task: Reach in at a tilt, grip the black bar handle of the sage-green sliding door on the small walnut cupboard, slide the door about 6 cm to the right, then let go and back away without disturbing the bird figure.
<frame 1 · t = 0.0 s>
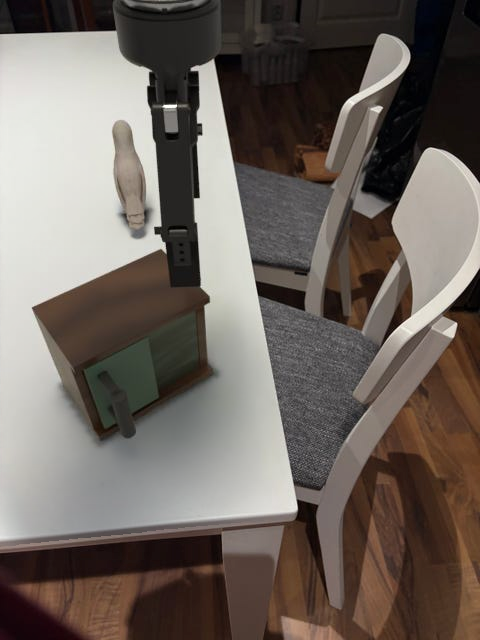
hand: (186, 236, 52), 21 cm above the table, tool pointing down, fingers open, 13 cm apart
cupboard: (139, 379, 66), on the table
bird: (135, 215, 90), on the table
sliding door: (134, 396, 56), point 7 cm above the table, slide at 0.0 cm
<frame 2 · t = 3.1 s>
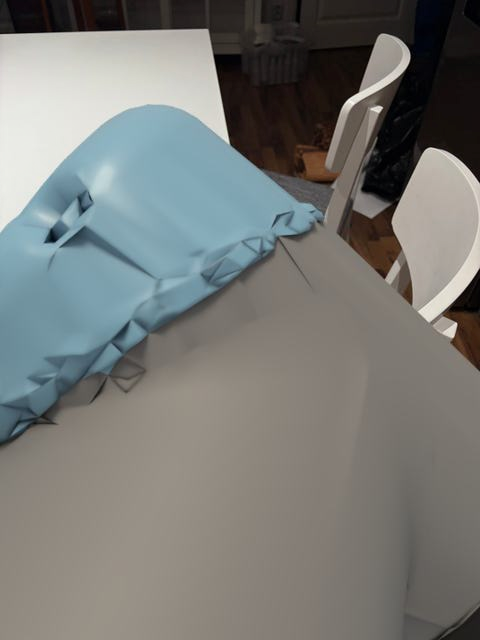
hand: (170, 445, 43), 16 cm above the table, tool tilted 45°, fingers open, 13 cm apart
nothing on the table moved.
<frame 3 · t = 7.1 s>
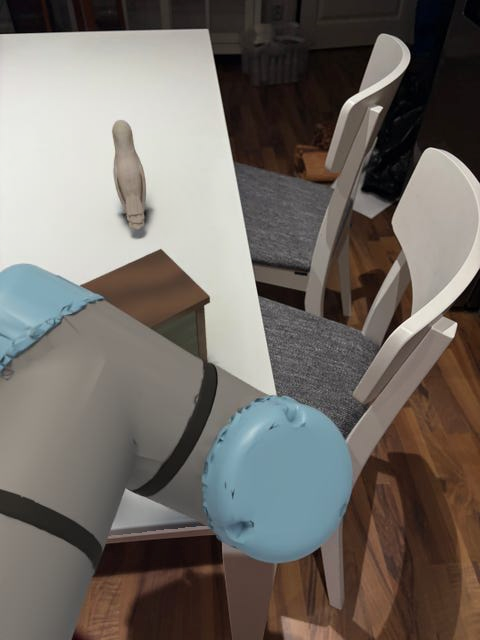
hand: (125, 405, 58), 5 cm above the table, tool tilted 45°, fingers open, 8 cm apart
sliding door: (132, 397, 56), point 7 cm above the table, slide at -0.2 cm, touching gripper
everything else where it was.
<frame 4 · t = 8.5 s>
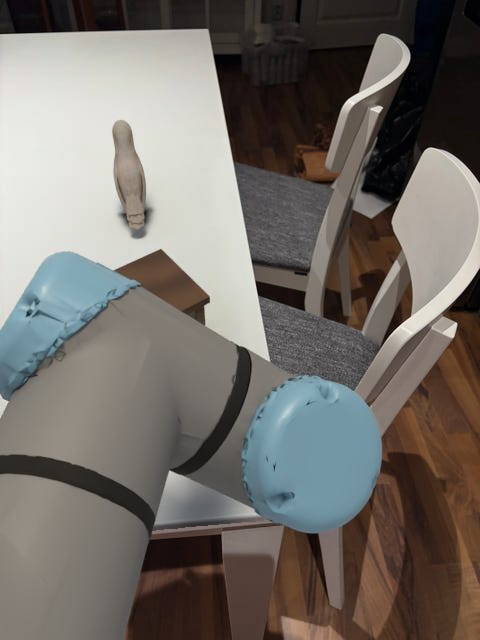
hand: (134, 399, 59), 4 cm above the table, tool tilted 45°, fingers closed on sliding door, 7 cm apart
sliding door: (137, 394, 56), point 7 cm above the table, slide at 0.4 cm, touching gripper
everything else where it was.
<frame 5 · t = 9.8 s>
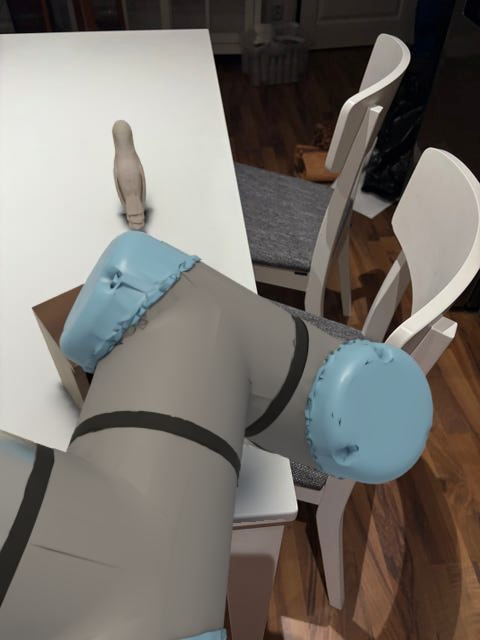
hand: (164, 382, 61), 4 cm above the table, tool tilted 45°, fingers closed on sliding door, 7 cm apart
sliding door: (169, 376, 58), point 7 cm above the table, slide at 4.5 cm, touching gripper
everything else where it was.
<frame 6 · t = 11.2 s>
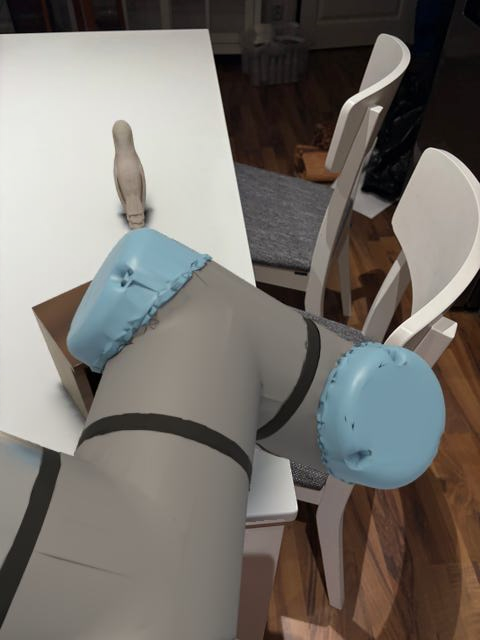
hand: (169, 383, 59), 6 cm above the table, tool tilted 45°, fingers open, 13 cm apart
sliding door: (169, 375, 58), point 7 cm above the table, slide at 4.5 cm
everything else where it was.
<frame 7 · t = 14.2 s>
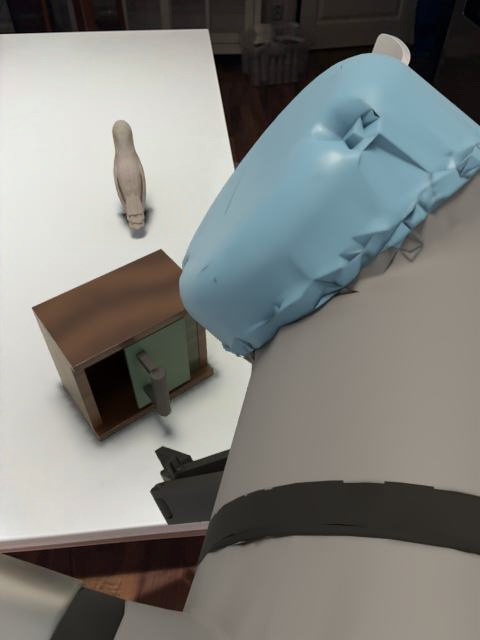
hand: (233, 418, 45), 15 cm above the table, tool tilted 40°, fingers open, 13 cm apart
nothing on the table moved.
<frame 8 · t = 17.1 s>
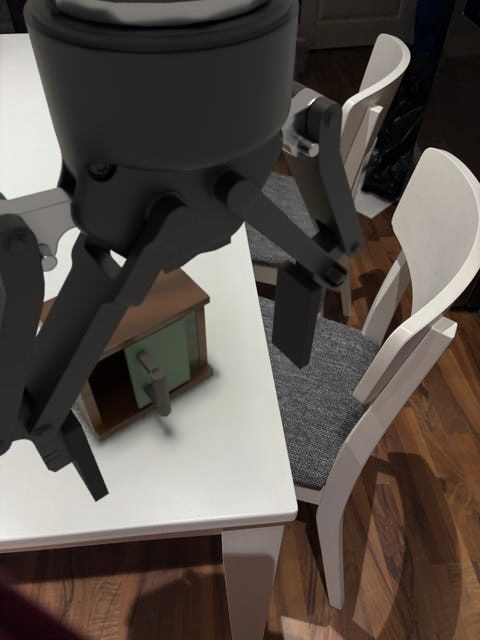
hand: (199, 409, 30), 29 cm above the table, tool pointing down, fingers open, 13 cm apart
nothing on the table moved.
at the end: sliding door slide at 4.5 cm; the gripper is holding nothing; bird moved 0.2 cm from its start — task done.
